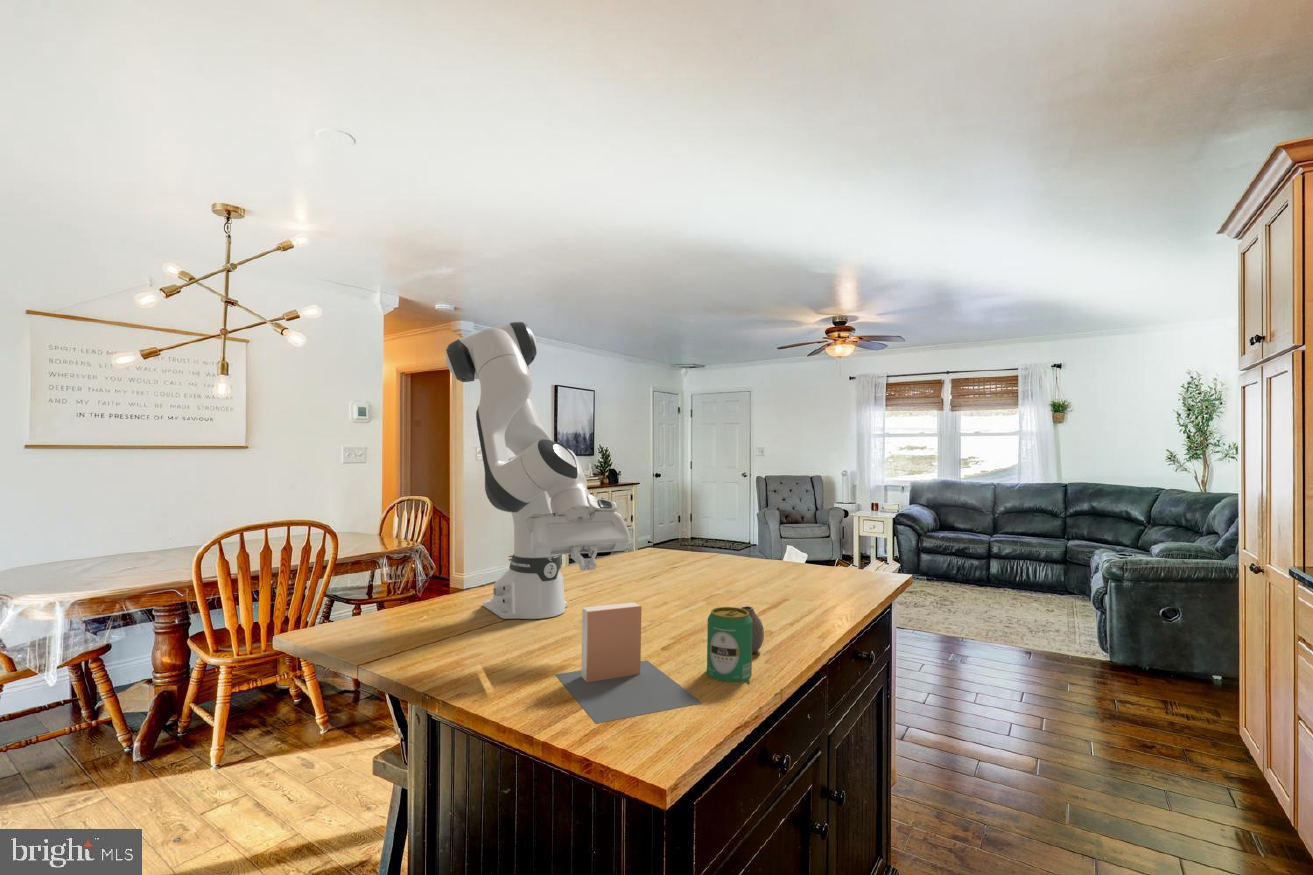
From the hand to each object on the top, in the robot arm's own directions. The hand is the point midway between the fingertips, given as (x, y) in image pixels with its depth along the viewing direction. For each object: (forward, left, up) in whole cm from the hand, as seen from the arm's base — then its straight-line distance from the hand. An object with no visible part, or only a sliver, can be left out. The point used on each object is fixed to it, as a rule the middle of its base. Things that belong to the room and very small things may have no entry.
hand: (588, 568), depth 120 cm
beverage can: (+26, +12, -18) cm, 33 cm away
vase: (+19, +27, -18) cm, 37 cm away
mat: (+18, -6, -17) cm, 26 cm away
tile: (+12, -4, -16) cm, 21 cm away
